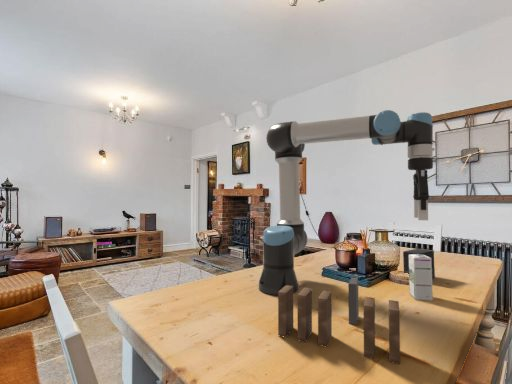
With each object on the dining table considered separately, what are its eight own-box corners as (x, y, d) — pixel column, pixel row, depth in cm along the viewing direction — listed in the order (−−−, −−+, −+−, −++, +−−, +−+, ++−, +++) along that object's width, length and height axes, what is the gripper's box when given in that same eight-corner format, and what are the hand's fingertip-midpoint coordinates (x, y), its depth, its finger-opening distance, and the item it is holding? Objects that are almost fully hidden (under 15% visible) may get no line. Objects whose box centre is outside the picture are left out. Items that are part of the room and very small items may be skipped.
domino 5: (363, 356, 60) (363, 305, 60) (365, 343, 65) (365, 296, 66) (373, 358, 59) (373, 306, 59) (375, 345, 64) (374, 297, 65)
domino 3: (318, 345, 64) (318, 298, 65) (323, 334, 70) (323, 290, 70) (326, 347, 63) (326, 299, 64) (331, 335, 69) (331, 291, 69)
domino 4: (348, 323, 76) (348, 283, 76) (351, 315, 81) (351, 277, 81) (356, 325, 75) (356, 284, 75) (358, 316, 80) (358, 278, 80)
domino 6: (389, 362, 58) (388, 309, 58) (389, 348, 63) (388, 299, 63) (400, 364, 57) (399, 310, 57) (399, 350, 62) (398, 301, 63)
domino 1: (278, 336, 69) (278, 291, 69) (286, 326, 74) (286, 285, 74) (285, 337, 68) (285, 293, 68) (293, 327, 73) (293, 286, 73)
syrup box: (433, 301, 92) (432, 257, 93) (414, 299, 94) (413, 257, 94) (426, 295, 98) (425, 254, 98) (408, 294, 99) (408, 253, 100)
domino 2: (297, 340, 66) (297, 294, 67) (304, 330, 72) (304, 287, 72) (305, 342, 66) (305, 296, 66) (311, 331, 71) (311, 288, 71)
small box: (418, 274, 126) (418, 248, 126) (435, 277, 120) (434, 250, 120) (403, 278, 119) (402, 250, 119) (419, 282, 113) (419, 253, 113)
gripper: (439, 151, 83) (440, 222, 83) (427, 162, 106) (428, 217, 105) (410, 153, 86) (411, 221, 86) (405, 163, 109) (405, 216, 109)
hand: (420, 219), depth 96 cm, fingers open, 13 cm apart
